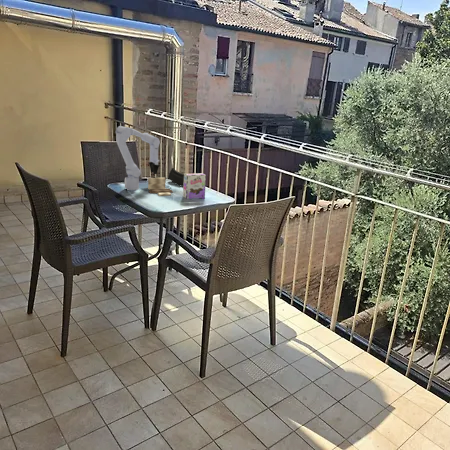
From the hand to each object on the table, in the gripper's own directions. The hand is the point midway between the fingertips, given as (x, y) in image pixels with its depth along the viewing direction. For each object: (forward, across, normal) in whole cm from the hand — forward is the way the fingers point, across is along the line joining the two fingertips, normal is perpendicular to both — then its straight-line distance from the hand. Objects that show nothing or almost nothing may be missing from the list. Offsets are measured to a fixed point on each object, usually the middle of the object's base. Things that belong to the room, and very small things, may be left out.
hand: (153, 173), depth 297 cm
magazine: (+11, +5, -22) cm, 25 cm away
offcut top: (+10, -27, 0) cm, 29 cm away
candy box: (+11, -36, -18) cm, 42 cm away
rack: (+10, -19, 0) cm, 22 cm away
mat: (+10, -9, 0) cm, 14 cm away
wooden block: (+10, -9, 0) cm, 13 cm away
